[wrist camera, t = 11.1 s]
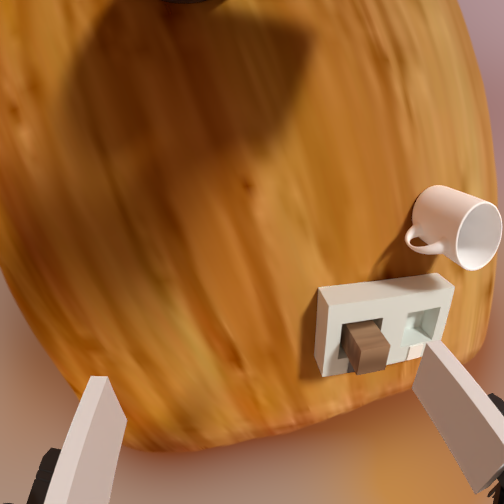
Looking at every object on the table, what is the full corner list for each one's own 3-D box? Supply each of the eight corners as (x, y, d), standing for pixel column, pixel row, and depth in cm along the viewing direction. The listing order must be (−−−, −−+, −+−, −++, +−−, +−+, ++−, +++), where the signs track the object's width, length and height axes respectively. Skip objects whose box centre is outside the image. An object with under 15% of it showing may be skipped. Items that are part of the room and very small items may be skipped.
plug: (338, 312, 44) (361, 351, 35) (364, 308, 44) (390, 345, 36) (336, 335, 45) (356, 375, 37) (361, 331, 45) (384, 369, 37)
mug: (383, 204, 40) (428, 229, 30) (449, 176, 39) (499, 192, 29) (396, 259, 43) (437, 294, 33) (458, 228, 42) (503, 254, 32)
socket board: (318, 287, 43) (329, 307, 38) (437, 272, 44) (456, 287, 39) (313, 355, 47) (322, 378, 42) (422, 335, 49) (437, 353, 44)
